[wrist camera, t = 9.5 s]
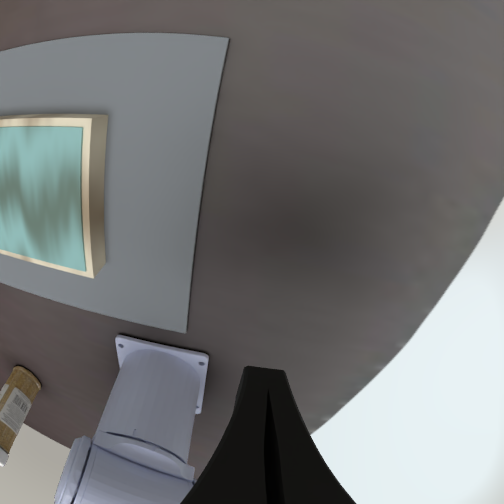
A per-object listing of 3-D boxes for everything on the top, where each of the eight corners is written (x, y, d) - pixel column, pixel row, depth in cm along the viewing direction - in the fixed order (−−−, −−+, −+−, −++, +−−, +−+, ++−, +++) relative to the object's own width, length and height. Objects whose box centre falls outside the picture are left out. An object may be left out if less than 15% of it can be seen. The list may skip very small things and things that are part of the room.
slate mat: (186, 330, 23) (185, 333, 23) (-18, 272, 21) (-20, 274, 21) (229, 39, 13) (228, 38, 13) (-33, 62, 12) (-36, 62, 12)
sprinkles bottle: (9, 361, 28) (-35, 438, 16) (33, 369, 28) (-12, 454, 16) (24, 383, 30) (-14, 458, 18) (47, 391, 30) (10, 472, 18)
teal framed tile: (92, 279, 18) (-16, 249, 17) (105, 262, 20) (-1, 237, 19) (90, 118, 13) (-30, 122, 12) (108, 114, 15) (-10, 116, 14)
